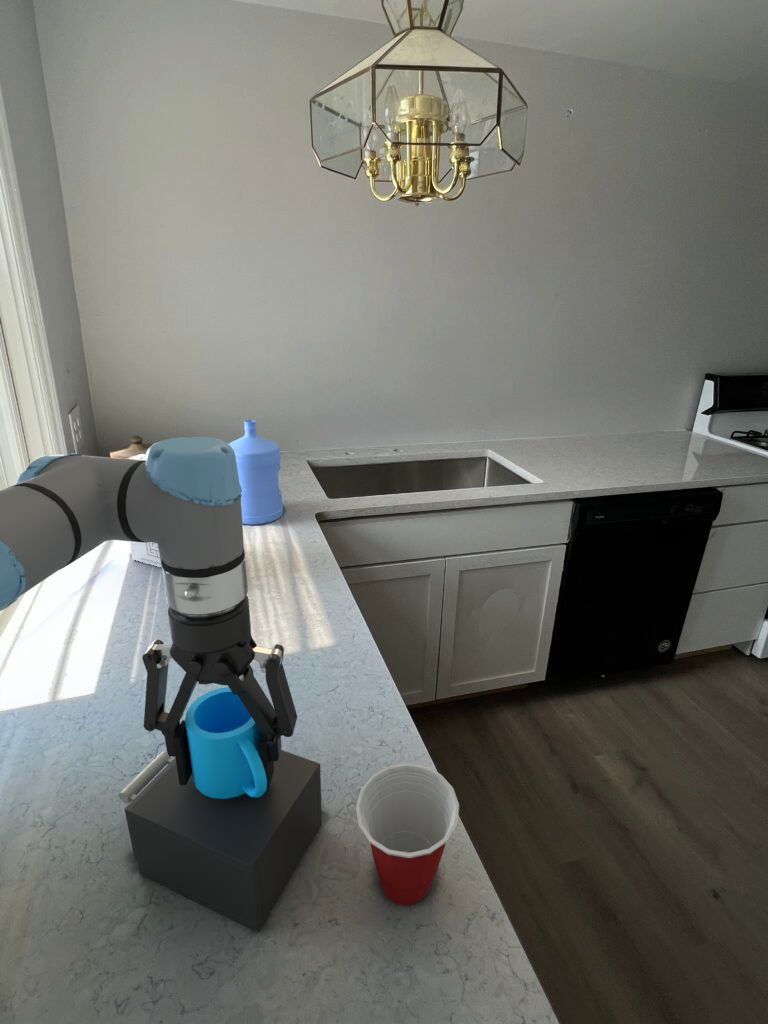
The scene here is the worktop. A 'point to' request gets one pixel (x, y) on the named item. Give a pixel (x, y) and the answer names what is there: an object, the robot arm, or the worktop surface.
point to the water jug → (258, 476)
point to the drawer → (144, 784)
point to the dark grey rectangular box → (228, 839)
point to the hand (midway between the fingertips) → (227, 777)
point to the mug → (224, 746)
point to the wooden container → (130, 449)
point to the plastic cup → (407, 827)
